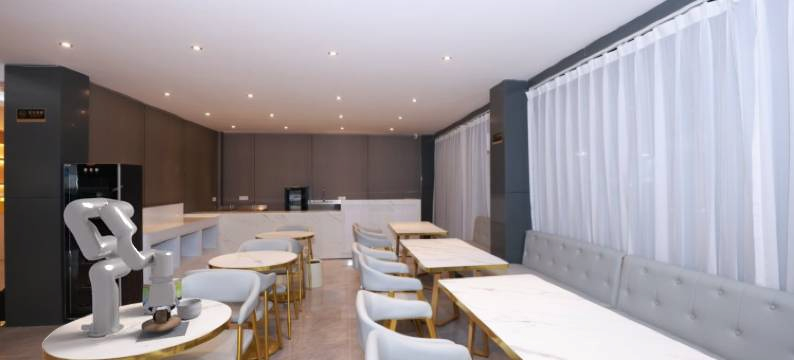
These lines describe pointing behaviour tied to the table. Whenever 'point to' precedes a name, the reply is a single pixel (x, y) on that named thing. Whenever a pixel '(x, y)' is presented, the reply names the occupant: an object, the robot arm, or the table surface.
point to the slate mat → (164, 333)
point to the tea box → (145, 298)
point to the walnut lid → (161, 322)
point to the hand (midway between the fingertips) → (161, 320)
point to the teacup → (189, 308)
